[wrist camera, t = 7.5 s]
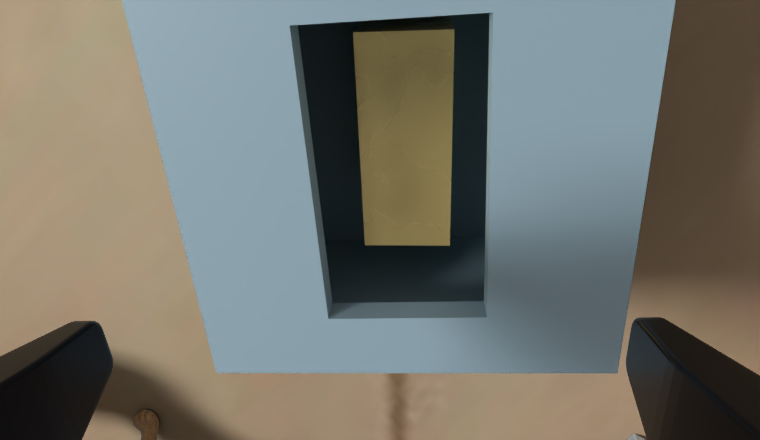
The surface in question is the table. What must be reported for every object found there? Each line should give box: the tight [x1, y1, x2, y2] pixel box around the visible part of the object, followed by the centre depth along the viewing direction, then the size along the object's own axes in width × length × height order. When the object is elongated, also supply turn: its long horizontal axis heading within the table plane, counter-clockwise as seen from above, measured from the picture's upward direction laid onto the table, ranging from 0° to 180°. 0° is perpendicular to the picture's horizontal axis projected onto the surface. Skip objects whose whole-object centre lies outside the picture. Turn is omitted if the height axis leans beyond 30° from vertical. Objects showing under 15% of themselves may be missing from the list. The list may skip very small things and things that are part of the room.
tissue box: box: [122, 0, 676, 373], centre depth 17 cm, size 12×12×7 cm
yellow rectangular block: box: [353, 15, 455, 246], centre depth 17 cm, size 6×2×5 cm, turn 2°
